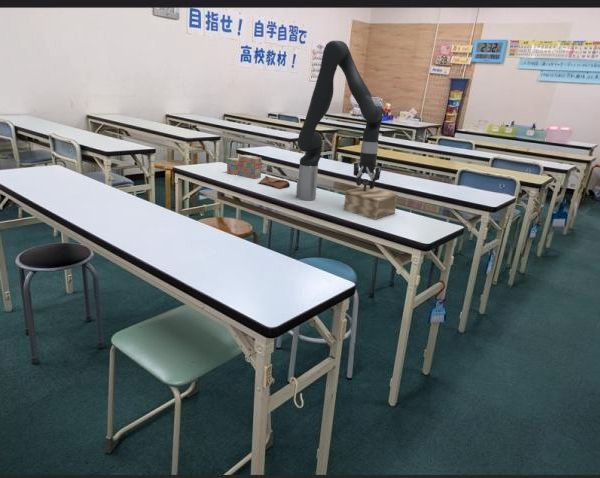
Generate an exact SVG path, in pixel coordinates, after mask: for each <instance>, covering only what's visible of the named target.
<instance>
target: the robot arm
mask: <svg viewBox="0 0 600 478" xmlns="http://www.w3.org/2000/svg"><path fill="white" fill-rule="evenodd" d="M338 67H340V69H341V71H342V72H343V75H344V76H345V79H346V83H347V86H348V89H349V91H350V93H351V95H352V97H353V98H354V100H355V102H356V104H357V105H358V107H359V110H360V112H361V115H362V117H363V118H364V120H365V121H366V122H365V128H364V130H363V133H362V142H361V147H360V155H359V162H354V163H353V176H355V177H356V186H358V187H360V186H361V185H362V177H363V175H364V174H367V176H368V177H369V178H370V181H369V186H368V187H369V188H370V189H373V188H374V189H375V183H376V181H379V180H380V177H381V172H382V171H381V170H382V167H379V166H377V165H376V163H377V159H378V158H377V157H378V152H379V151H378V150H379V136H380V130H381V125H382V120H383V111H382V109H381V107H380V106H378V105H376V104H375V102H374V101H373V99H372V97H373V95H372V93H371V92H370V90H369V88H368V86H367V85H366V83H365V81H364V80H363V78H362V76H361V74H360V72H359V71H358V68H357V66H356V64H355V62H354V59H353V57H352V53H351V50H350V49H349V46H348V45H347V43H346V42H344V41H342V40H330V41H328V42H327V43H326V44H325V46H324V48H323V51H322V56H321V63H320V68H319V72H318V76H317V78H316V83H315V84H314V89H313V91H312V95H311V99H310V103H309V106H308V110H307V113H306V116H305V119H304V121H303V123H302V127H301V129H300V132H299V134H298V137H297V147H298V149H299V150H300V152H305V153H304V155H303V156H302V157H301V158H299V169H298V171H299V172H298V178H296V180H297V181H296V192H295V193H296V194H295V196H296V198H298V199H299V200H302V201H314V200H316V199H317V198H316V196H317V184H318V172H319V171H318V170H319V161H321V160H320V159H321V155H322V154H321V153H322V146H323V138H322V136H321V134H320V133H319V132H317V131H316V129H317V127H318V125H319V123H320V122H321V121H322V119H323V118H324V117H325V115H326V114H327V113H328V111H329V109H330V106H331V104H332V101H333V97H334V89H335V88H334V82H335V81H334V79H335V74H336V72H337V70H338V69H337V68H338Z"/></svg>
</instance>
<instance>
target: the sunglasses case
mask: <svg viewBox="0 0 600 478" xmlns="http://www.w3.org/2000/svg"><path fill="white" fill-rule="evenodd" d="M257 184H258V185H263V186H266V187H271V188H274V189H278V190H283V189H288V188H291V187H290V186H291V184H290V182H289V181H287V180H285V179H278V178H275V177H270V176H268V175H265V176H264V177H263V178H262V179H261V180H260V181H259V182H257Z"/></svg>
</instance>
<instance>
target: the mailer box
mask: <svg viewBox="0 0 600 478" xmlns="http://www.w3.org/2000/svg"><path fill="white" fill-rule="evenodd" d="M344 194H345V196H344V205H343V211H344V212H348V213H352V214H355V215H358V216H362V217H365V218H368V219H372V220H374V221H376V220H379V219H383V218H385V217H388V216H392V215H395V214H396V206H397V200H398V197H395V198H392V199H388V200H384V201H381V202H376V201H372V200H368V199H365V198H361V197H357V196H354V195H350V194H346V193H344Z"/></svg>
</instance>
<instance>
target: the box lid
mask: <svg viewBox="0 0 600 478" xmlns="http://www.w3.org/2000/svg"><path fill="white" fill-rule="evenodd" d="M361 184H362V185H363V186H361V187H360V186H359V187H357V188H353V189H351V188H350V189H348V190H345V191H344V194H350V195H354V196H357V197H361V198H365V199H368V200H372V201H376V202H381V201H384V200H388V199H392V198H395V197H397V198H398V197H399V194H397V193H393V192H390V191H385V190H381V189H377V188H375V187H374V188H373V189H370V188H369V187H370V186H368V185H370V181H369V179H366V178H364V179H362V180H361Z"/></svg>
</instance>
